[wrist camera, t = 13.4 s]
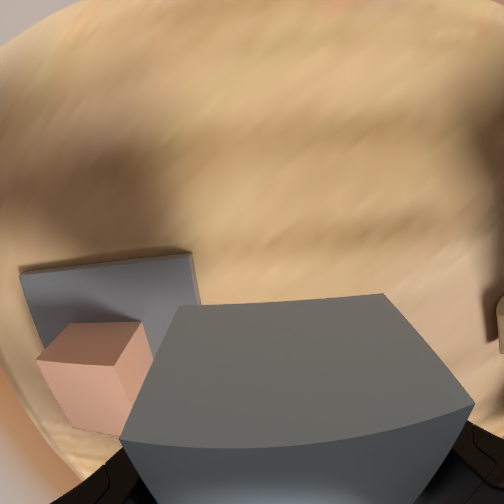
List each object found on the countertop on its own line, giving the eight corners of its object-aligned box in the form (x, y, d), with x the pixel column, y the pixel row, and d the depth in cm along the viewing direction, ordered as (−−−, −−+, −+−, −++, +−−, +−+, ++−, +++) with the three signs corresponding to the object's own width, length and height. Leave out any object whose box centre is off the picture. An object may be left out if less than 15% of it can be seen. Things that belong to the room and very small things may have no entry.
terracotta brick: (164, 390, 20) (147, 438, 16) (97, 386, 21) (72, 428, 16) (141, 321, 19) (114, 366, 14) (70, 322, 19) (35, 359, 14)
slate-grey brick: (358, 427, 10) (391, 529, 5) (206, 438, 10) (191, 547, 6) (382, 293, 9) (474, 403, 4) (179, 305, 9) (118, 438, 4)
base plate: (225, 416, 22) (225, 424, 21) (82, 408, 23) (78, 415, 22) (191, 252, 19) (188, 257, 18) (26, 271, 19) (18, 275, 18)
